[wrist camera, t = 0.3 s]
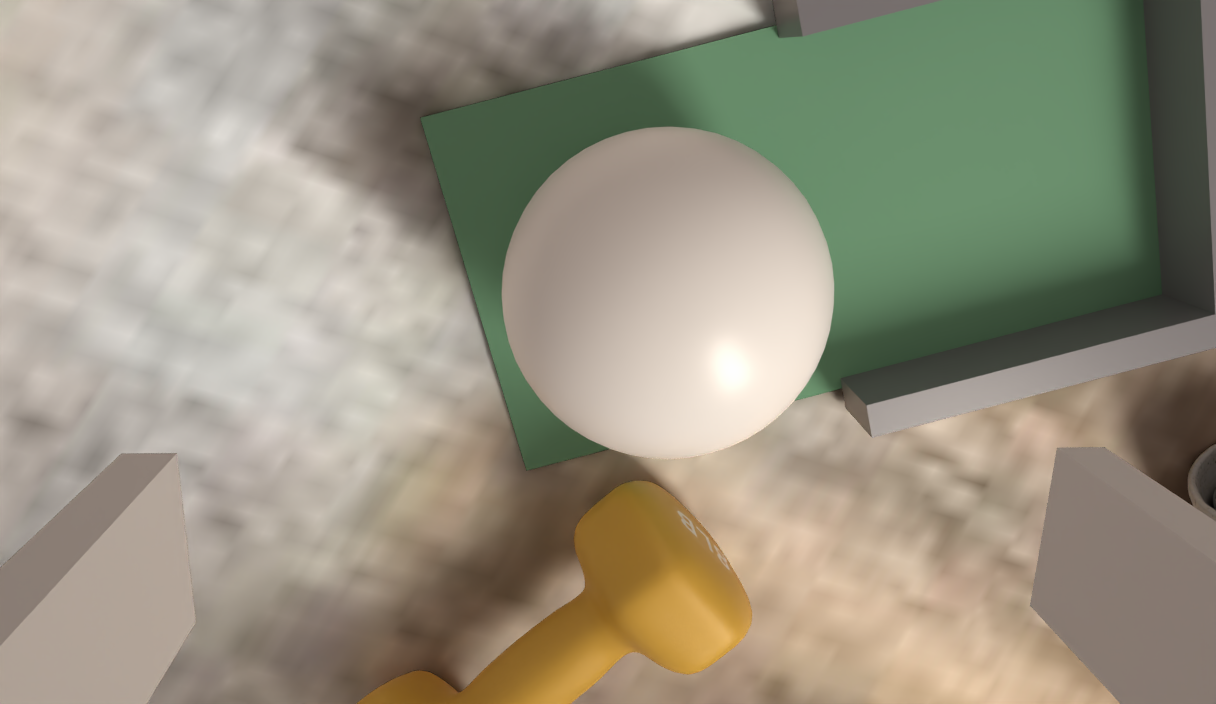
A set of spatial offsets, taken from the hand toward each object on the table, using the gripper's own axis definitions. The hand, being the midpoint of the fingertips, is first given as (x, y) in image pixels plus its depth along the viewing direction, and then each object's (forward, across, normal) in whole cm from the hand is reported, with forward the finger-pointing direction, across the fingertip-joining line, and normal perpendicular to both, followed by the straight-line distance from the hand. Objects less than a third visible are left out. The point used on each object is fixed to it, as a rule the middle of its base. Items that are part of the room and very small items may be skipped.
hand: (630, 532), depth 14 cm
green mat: (+27, -12, -1) cm, 30 cm away
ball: (+21, -3, +1) cm, 21 cm away
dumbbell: (+28, +1, +19) cm, 34 cm away
